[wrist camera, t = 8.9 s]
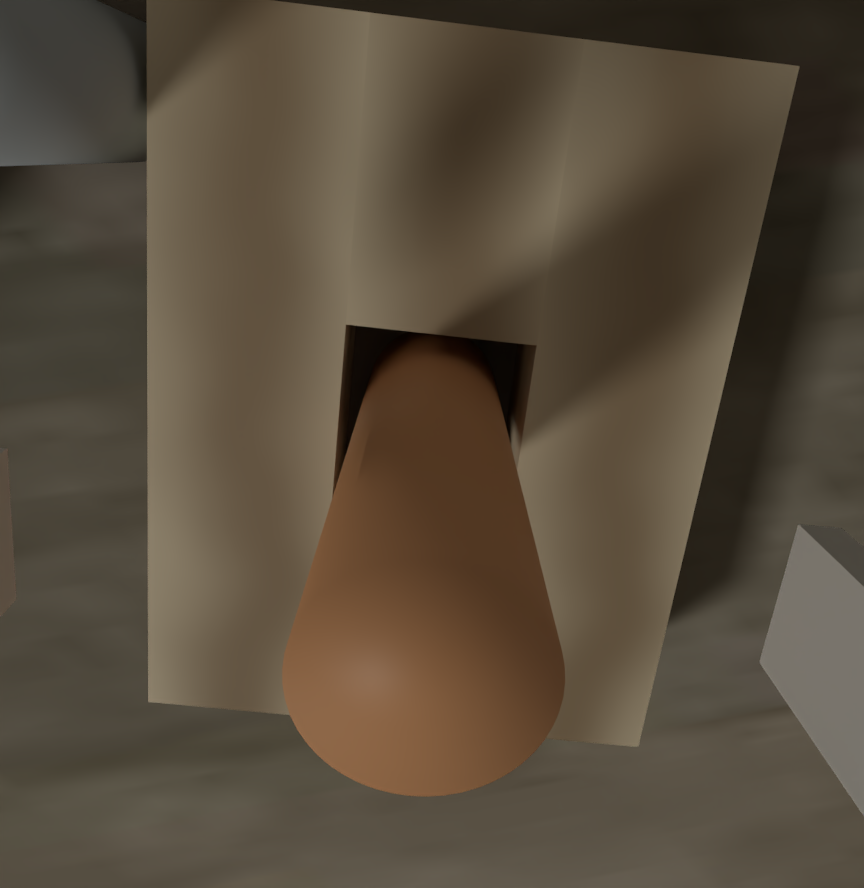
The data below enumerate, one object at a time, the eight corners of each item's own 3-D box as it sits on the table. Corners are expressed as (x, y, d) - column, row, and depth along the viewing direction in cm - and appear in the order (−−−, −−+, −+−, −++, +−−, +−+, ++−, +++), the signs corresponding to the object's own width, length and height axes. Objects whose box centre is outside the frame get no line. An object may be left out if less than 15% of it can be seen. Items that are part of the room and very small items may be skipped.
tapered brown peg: (364, 441, 24) (274, 782, 11) (375, 320, 23) (290, 540, 10) (485, 454, 24) (541, 808, 11) (502, 335, 23) (587, 571, 10)
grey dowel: (61, 154, 23) (-204, 154, 13) (55, 8, 21) (-239, -106, 12) (192, 169, 23) (24, 180, 13) (195, 25, 22) (11, -74, 12)
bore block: (191, 617, 27) (148, 702, 23) (202, 17, 22) (146, -16, 17) (606, 657, 28) (638, 747, 24) (728, 82, 22) (799, 66, 18)
